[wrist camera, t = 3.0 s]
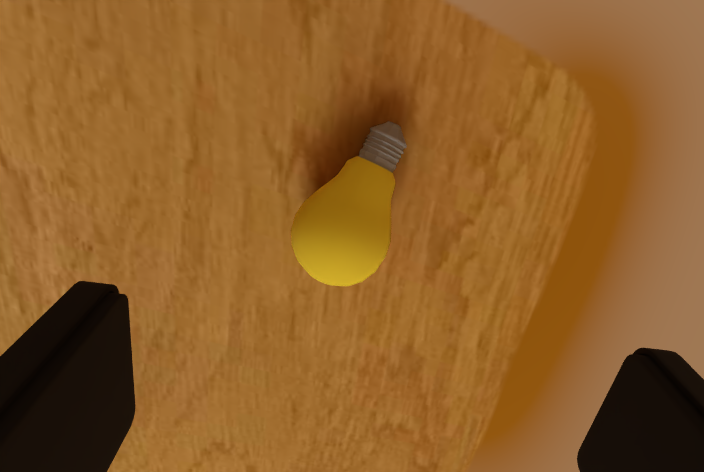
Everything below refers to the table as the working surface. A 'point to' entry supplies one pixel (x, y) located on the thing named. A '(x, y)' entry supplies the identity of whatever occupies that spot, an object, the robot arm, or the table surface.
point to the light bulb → (351, 214)
